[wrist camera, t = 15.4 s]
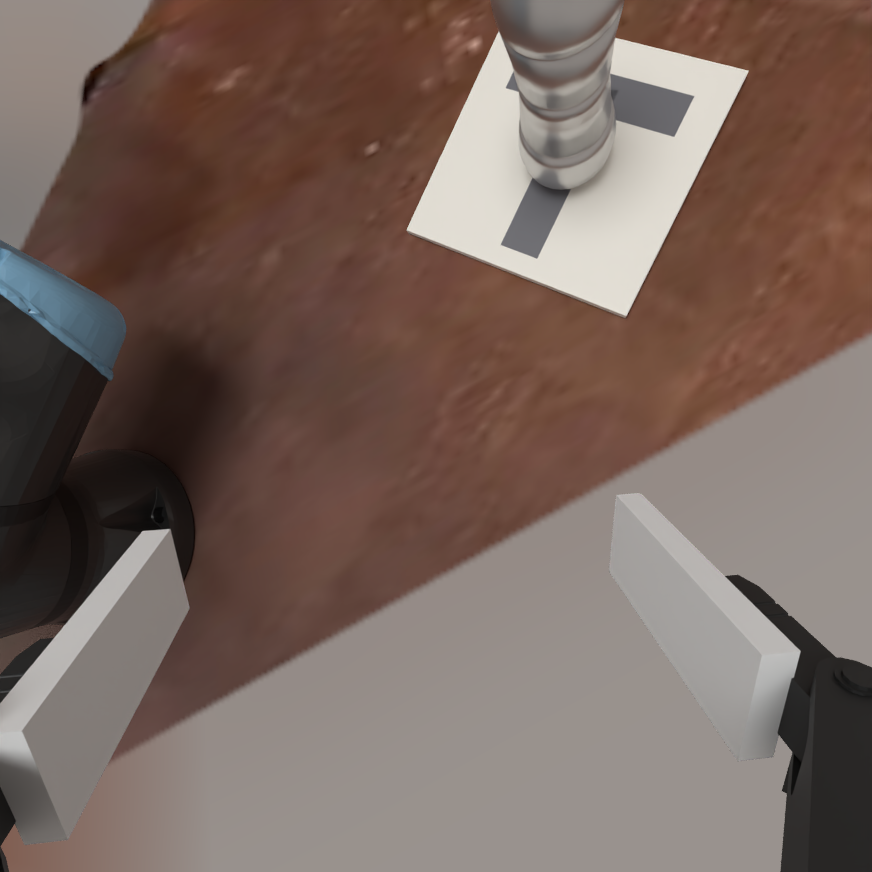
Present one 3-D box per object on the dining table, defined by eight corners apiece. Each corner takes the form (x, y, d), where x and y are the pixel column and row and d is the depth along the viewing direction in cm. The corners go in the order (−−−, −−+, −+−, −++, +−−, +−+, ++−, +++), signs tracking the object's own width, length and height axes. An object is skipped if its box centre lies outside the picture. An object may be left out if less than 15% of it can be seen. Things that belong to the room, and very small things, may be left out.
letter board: (409, 233, 42) (406, 230, 41) (509, 17, 41) (508, 11, 40) (625, 318, 37) (626, 316, 37) (745, 77, 36) (748, 70, 35)
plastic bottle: (619, 108, 38) (658, -268, 18) (607, 202, 37) (635, -79, 18) (528, 113, 39) (476, -227, 20) (517, 202, 39) (454, -54, 20)
